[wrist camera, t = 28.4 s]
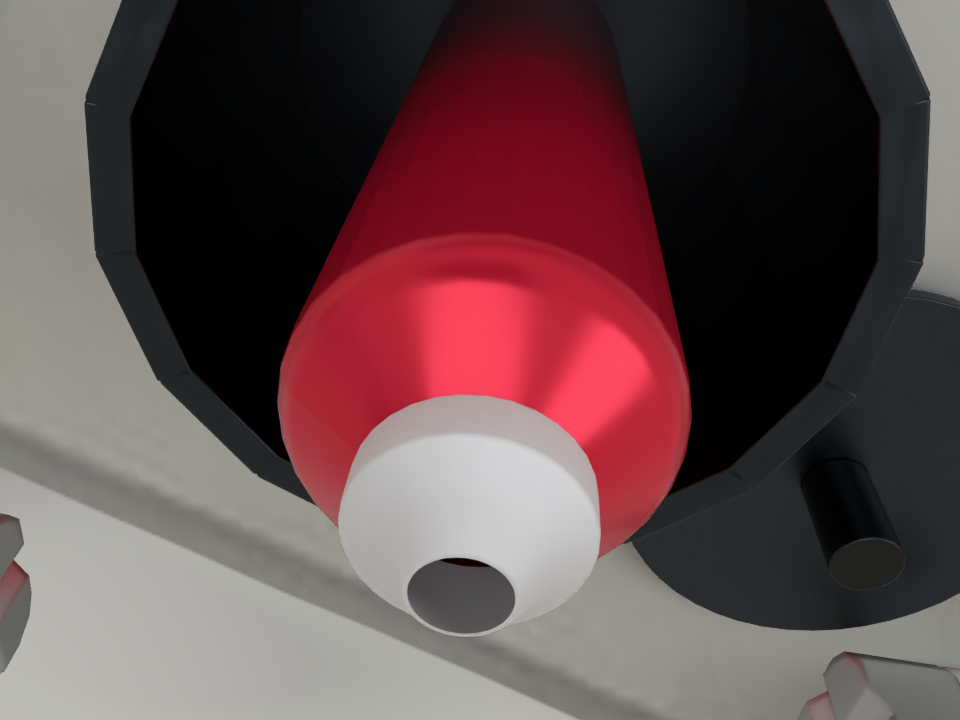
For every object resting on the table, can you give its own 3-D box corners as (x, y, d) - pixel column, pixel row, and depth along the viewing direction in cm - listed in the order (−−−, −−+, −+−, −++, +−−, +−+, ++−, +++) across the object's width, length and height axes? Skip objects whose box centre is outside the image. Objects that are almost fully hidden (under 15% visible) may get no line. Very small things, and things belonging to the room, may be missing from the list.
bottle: (578, 185, 28) (609, 799, 11) (409, 130, 27) (171, 687, 10) (648, 9, 25) (835, 480, 8) (460, -56, 24) (244, 301, 8)
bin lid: (575, 571, 38) (577, 675, 33) (684, 236, 29) (707, 317, 25) (936, 636, 38) (984, 747, 34) (1148, 325, 30) (1250, 420, 25)
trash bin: (265, 244, 30) (110, 488, 20) (289, -280, 22) (50, -334, 12) (688, 323, 31) (755, 603, 20) (858, -162, 23) (1113, -115, 12)
